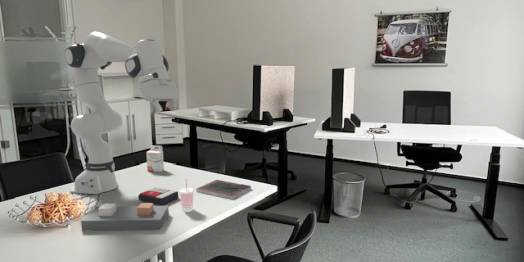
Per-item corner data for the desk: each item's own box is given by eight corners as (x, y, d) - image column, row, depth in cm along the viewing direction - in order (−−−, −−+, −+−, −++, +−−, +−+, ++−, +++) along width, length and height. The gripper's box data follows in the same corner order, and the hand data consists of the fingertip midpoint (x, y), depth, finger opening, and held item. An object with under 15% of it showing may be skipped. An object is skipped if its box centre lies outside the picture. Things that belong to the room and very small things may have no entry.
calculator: (154, 186, 182) (178, 189, 175) (155, 194, 183) (179, 198, 176) (137, 193, 173) (161, 197, 166) (138, 202, 174) (162, 206, 166)
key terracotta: (137, 217, 147) (137, 208, 146) (141, 212, 152) (140, 203, 151) (150, 217, 147) (149, 207, 146) (153, 212, 152) (153, 203, 151)
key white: (99, 218, 147) (98, 208, 146) (104, 213, 152) (103, 203, 151) (112, 218, 147) (111, 208, 146) (116, 212, 152) (115, 203, 151)
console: (82, 230, 143) (81, 220, 142) (97, 215, 156) (96, 206, 156) (160, 229, 143) (160, 219, 143) (168, 214, 157) (168, 205, 156)
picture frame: (251, 190, 188) (216, 183, 199) (250, 185, 187) (216, 179, 198) (232, 201, 174) (196, 193, 185) (232, 195, 173) (196, 188, 184)
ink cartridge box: (147, 171, 219) (145, 146, 216) (151, 168, 224) (149, 145, 221) (160, 172, 217) (158, 147, 214) (164, 169, 222) (163, 145, 219)
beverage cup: (196, 210, 161) (195, 179, 159) (183, 213, 158) (181, 182, 155) (191, 206, 166) (190, 175, 164) (178, 208, 163) (176, 178, 160)
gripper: (165, 81, 160) (174, 112, 160) (134, 79, 141) (145, 114, 140) (177, 77, 158) (187, 108, 157) (148, 73, 139) (158, 109, 138)
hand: (167, 111), depth 149 cm, fingers open, 8 cm apart
